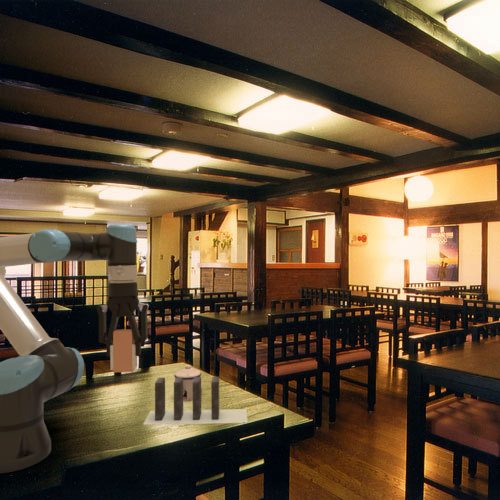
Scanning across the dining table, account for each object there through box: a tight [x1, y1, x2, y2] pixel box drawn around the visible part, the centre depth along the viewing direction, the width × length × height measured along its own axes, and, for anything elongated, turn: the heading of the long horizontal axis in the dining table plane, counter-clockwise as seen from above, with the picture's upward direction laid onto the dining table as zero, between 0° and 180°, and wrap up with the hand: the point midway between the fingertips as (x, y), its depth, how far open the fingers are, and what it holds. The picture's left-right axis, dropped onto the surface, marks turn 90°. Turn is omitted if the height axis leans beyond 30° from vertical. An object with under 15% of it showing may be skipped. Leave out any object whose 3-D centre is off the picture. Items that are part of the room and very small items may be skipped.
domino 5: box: [210, 376, 220, 420], centre depth 117 cm, size 2×5×11 cm, turn 1°
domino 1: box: [112, 328, 135, 373], centre depth 105 cm, size 2×5×11 cm, turn 94°
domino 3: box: [173, 377, 184, 420], centre depth 116 cm, size 2×5×11 cm, turn 2°
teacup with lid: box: [174, 364, 203, 402], centre depth 132 cm, size 12×9×12 cm
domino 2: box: [154, 377, 166, 421], centre depth 116 cm, size 2×5×11 cm, turn 1°
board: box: [142, 408, 248, 426], centre depth 116 cm, size 30×10×1 cm, turn 92°
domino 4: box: [192, 376, 202, 420], centre depth 117 cm, size 2×5×11 cm, turn 1°
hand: (124, 368), depth 105 cm, fingers closed on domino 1, 5 cm apart
